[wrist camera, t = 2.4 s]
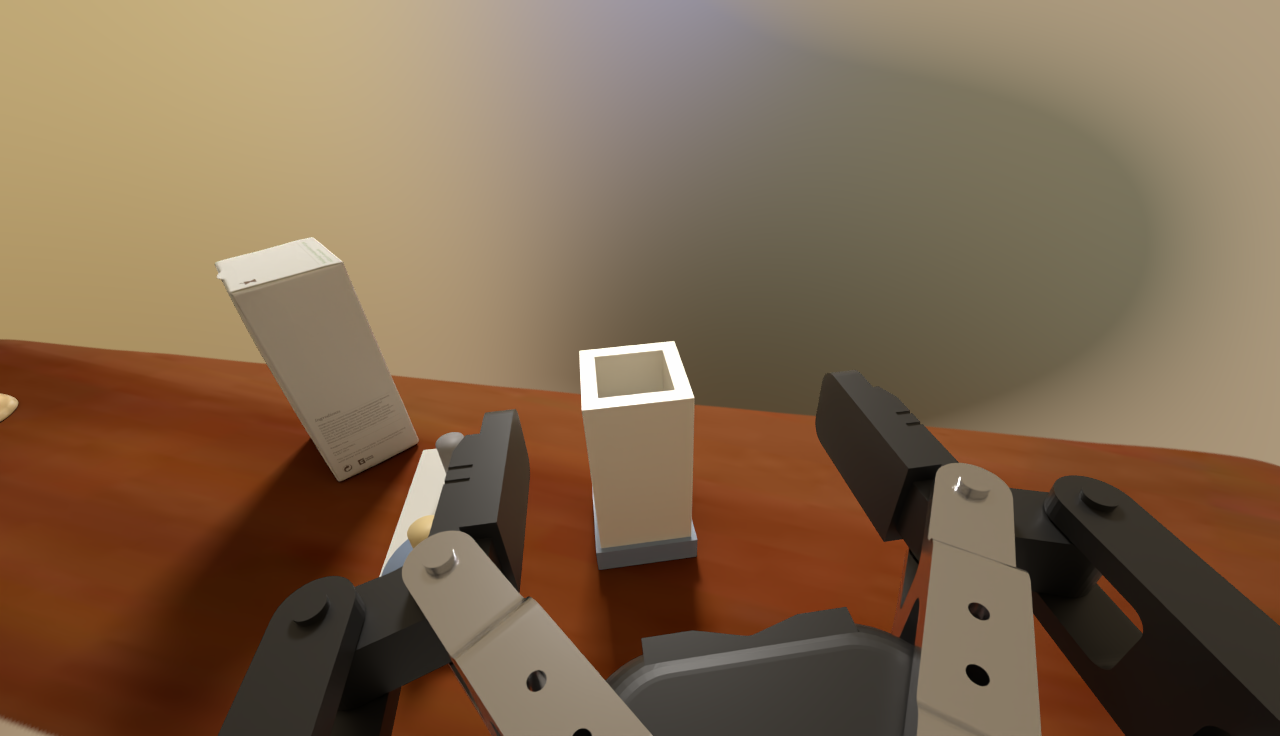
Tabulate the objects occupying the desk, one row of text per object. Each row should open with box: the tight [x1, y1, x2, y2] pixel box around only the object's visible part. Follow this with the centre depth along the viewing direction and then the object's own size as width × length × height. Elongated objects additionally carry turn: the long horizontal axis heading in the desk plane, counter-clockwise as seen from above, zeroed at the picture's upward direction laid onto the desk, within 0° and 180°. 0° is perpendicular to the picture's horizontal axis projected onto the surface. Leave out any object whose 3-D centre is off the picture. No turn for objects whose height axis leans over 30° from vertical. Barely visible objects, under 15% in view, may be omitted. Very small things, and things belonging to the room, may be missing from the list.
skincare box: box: [215, 237, 419, 481], centre depth 36 cm, size 8×7×16 cm
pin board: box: [379, 432, 464, 577], centre depth 31 cm, size 14×7×5 cm, turn 7°
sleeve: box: [579, 341, 697, 570], centre depth 29 cm, size 6×6×12 cm
